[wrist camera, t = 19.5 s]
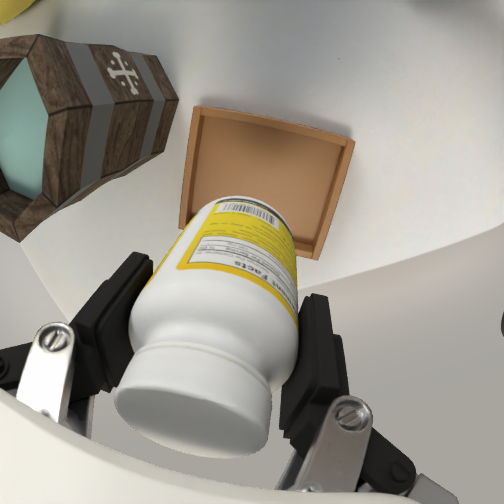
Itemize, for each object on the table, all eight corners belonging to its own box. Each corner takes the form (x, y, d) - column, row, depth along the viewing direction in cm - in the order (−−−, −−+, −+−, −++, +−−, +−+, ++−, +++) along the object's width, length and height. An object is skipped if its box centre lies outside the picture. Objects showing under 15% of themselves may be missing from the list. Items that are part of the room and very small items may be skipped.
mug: (209, 95, 23) (116, 93, 9) (129, 201, 28) (34, 280, 15) (80, 7, 18) (-25, -10, 5) (26, 105, 23) (-72, 134, 10)
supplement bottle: (221, 301, 16) (170, 464, 8) (170, 220, 14) (51, 370, 6) (312, 270, 15) (323, 459, 6) (267, 174, 13) (221, 338, 4)
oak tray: (350, 138, 23) (355, 141, 21) (316, 250, 29) (318, 260, 27) (200, 105, 23) (193, 106, 21) (185, 220, 29) (177, 229, 27)
